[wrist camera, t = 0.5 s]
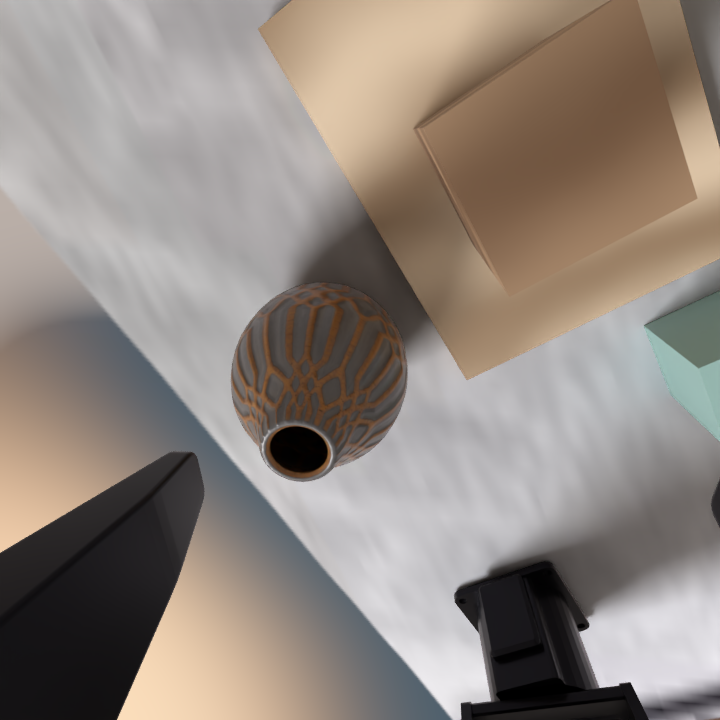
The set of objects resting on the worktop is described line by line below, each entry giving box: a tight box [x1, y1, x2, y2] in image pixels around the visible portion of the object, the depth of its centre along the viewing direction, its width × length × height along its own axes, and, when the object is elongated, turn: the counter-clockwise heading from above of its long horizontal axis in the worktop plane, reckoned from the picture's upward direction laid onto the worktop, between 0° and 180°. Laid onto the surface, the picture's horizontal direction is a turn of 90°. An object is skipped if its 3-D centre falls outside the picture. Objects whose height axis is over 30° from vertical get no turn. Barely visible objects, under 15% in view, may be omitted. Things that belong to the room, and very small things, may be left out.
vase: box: [231, 283, 408, 482], centre depth 18 cm, size 7×7×9 cm
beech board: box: [258, 0, 720, 380], centre depth 17 cm, size 16×12×1 cm
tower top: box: [417, 0, 698, 297], centre depth 13 cm, size 5×5×3 cm
